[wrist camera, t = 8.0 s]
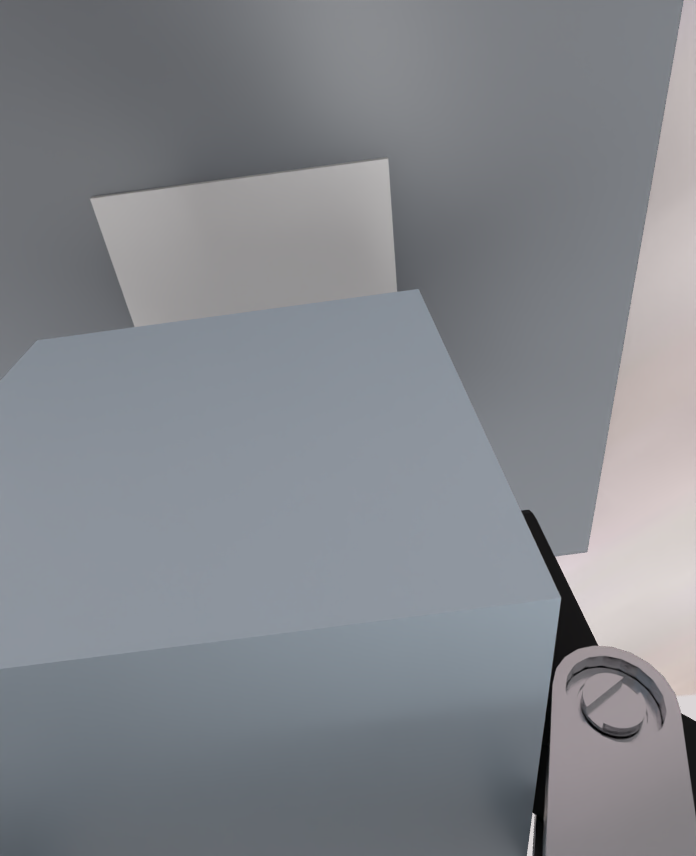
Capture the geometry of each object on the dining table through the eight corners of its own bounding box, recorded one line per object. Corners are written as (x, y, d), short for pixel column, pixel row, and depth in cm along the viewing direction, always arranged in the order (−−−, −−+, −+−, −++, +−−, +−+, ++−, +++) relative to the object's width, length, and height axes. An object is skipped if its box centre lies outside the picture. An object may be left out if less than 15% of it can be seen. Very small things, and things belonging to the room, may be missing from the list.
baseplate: (-311, -61, 12) (-379, -73, 10) (685, -199, 11) (729, -226, 10) (71, 595, 23) (58, 625, 22) (574, 529, 23) (589, 556, 22)
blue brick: (37, 340, 9) (-297, 706, 4) (418, 288, 9) (560, 598, 4) (179, 651, 13) (104, 1010, 8) (435, 619, 13) (512, 961, 8)
